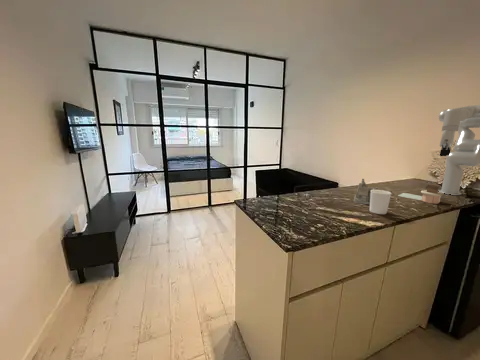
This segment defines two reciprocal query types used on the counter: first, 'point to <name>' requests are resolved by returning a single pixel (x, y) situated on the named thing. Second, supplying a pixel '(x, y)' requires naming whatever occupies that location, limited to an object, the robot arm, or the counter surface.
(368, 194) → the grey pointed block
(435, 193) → the lid
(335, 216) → the counter surface
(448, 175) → the robot arm
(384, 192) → the candle holder
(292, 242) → the counter surface
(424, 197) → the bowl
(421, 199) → the mat
